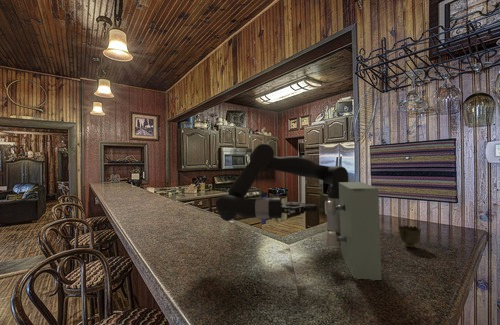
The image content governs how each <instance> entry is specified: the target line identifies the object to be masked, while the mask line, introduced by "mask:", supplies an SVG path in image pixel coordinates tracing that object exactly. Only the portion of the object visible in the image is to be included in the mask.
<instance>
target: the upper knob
mask: <svg viewBox="0 0 500 325" xmlns="http://www.w3.org/2000/svg"><path fill="white" fill-rule="evenodd" d="M336 210H345V206H335V201H328V200H325V201H324V213H325V215H326V216H327V215H335V214H336Z"/></svg>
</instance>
